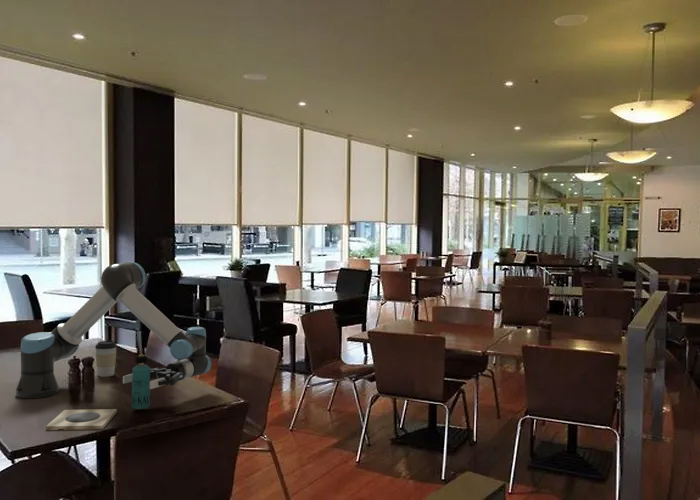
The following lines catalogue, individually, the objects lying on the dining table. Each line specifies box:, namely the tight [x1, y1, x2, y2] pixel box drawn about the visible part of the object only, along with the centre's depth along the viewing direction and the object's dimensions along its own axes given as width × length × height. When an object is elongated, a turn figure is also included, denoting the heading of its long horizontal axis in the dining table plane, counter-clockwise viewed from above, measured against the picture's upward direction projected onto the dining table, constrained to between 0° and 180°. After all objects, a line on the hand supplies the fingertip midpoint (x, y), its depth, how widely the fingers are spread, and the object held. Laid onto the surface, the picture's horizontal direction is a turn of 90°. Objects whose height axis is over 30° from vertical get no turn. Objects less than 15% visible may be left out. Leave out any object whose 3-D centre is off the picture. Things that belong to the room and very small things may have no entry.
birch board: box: [45, 408, 118, 431], centre depth 212 cm, size 18×18×1 cm
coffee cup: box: [94, 339, 118, 378], centre depth 275 cm, size 9×9×15 cm
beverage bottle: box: [131, 355, 151, 410], centre depth 225 cm, size 6×7×20 cm
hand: (136, 382), depth 222 cm, fingers open, 13 cm apart
